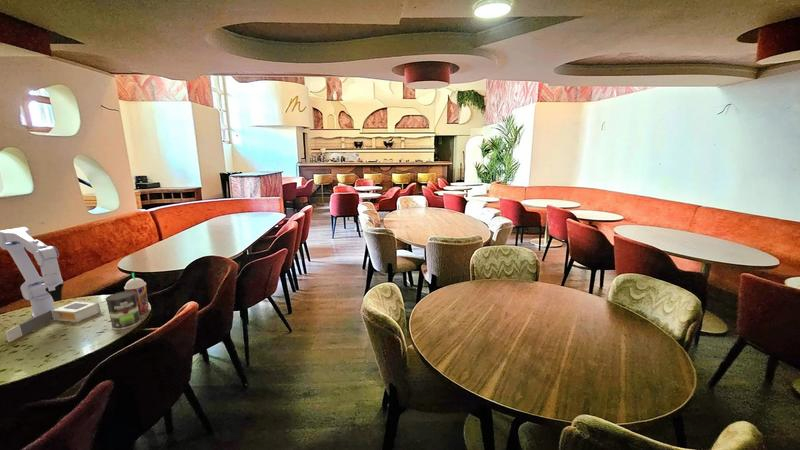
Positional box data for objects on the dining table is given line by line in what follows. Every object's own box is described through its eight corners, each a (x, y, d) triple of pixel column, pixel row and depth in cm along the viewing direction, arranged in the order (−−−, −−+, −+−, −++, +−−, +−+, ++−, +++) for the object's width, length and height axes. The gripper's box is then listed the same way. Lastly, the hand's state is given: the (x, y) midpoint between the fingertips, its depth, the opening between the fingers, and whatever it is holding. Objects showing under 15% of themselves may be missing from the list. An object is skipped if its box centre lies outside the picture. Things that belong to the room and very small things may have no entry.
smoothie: (154, 310, 163) (146, 271, 159) (133, 317, 156) (125, 277, 152) (146, 306, 168) (139, 269, 163) (126, 312, 161) (118, 274, 156)
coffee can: (143, 323, 150) (137, 294, 147) (114, 332, 143) (107, 302, 140) (138, 316, 157) (133, 288, 154) (110, 324, 150) (104, 295, 147)
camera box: (78, 310, 165) (76, 300, 164) (101, 312, 162) (98, 302, 161) (54, 319, 155) (51, 309, 154) (78, 322, 152) (75, 311, 151)
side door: (53, 319, 155) (51, 309, 154) (10, 341, 136) (6, 331, 135) (51, 319, 155) (49, 310, 154) (8, 341, 136) (4, 331, 135)
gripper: (41, 271, 154) (48, 298, 157) (35, 279, 143) (43, 308, 146) (62, 267, 158) (69, 293, 161) (58, 275, 147) (65, 303, 150)
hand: (58, 300), depth 154 cm, fingers closed
